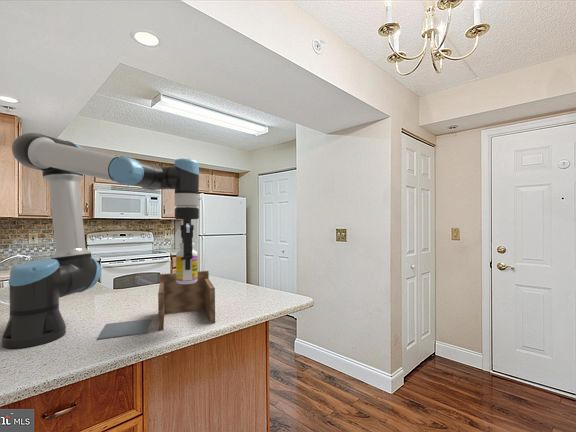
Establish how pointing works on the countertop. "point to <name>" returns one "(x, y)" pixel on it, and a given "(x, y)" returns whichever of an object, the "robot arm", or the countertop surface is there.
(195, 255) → the supplement bottle
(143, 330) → the slate mat
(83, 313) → the countertop surface
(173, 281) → the cubby
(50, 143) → the robot arm
